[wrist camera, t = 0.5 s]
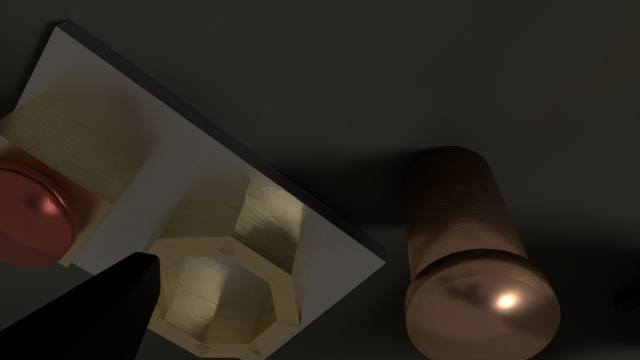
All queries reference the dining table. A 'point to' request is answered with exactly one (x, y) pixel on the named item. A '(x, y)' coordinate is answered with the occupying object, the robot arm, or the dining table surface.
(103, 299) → the robot arm
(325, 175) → the dining table surface
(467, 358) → the pipe stub
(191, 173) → the panel with octagonal sockets
